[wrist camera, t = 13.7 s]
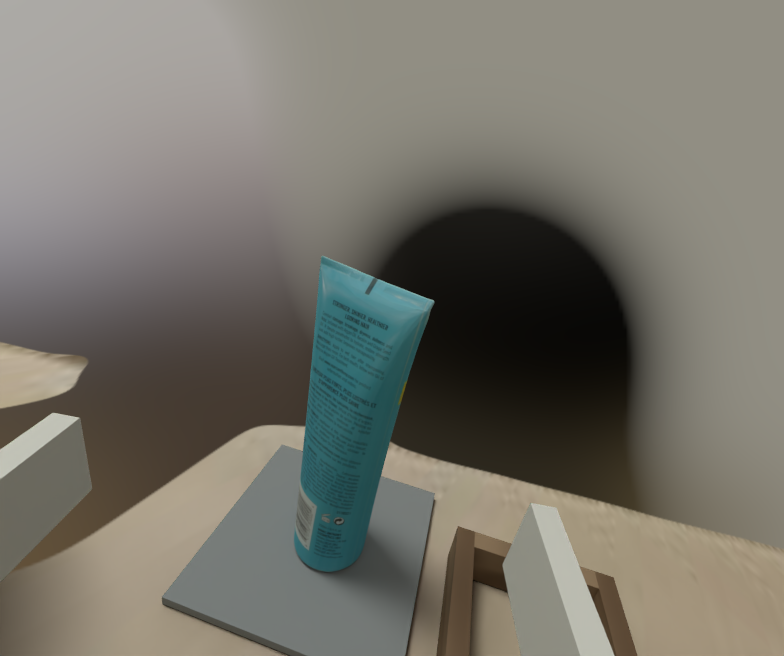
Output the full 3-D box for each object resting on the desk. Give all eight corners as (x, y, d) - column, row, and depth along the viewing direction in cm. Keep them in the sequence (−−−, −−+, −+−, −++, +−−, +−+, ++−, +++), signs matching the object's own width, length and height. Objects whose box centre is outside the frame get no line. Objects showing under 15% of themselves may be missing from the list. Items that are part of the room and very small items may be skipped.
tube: (391, 545, 28) (455, 290, 20) (349, 602, 24) (410, 310, 16) (312, 490, 31) (343, 252, 23) (264, 532, 27) (282, 261, 19)
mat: (162, 603, 22) (161, 597, 22) (281, 449, 35) (282, 444, 35) (396, 698, 20) (398, 692, 20) (433, 498, 33) (434, 493, 33)
